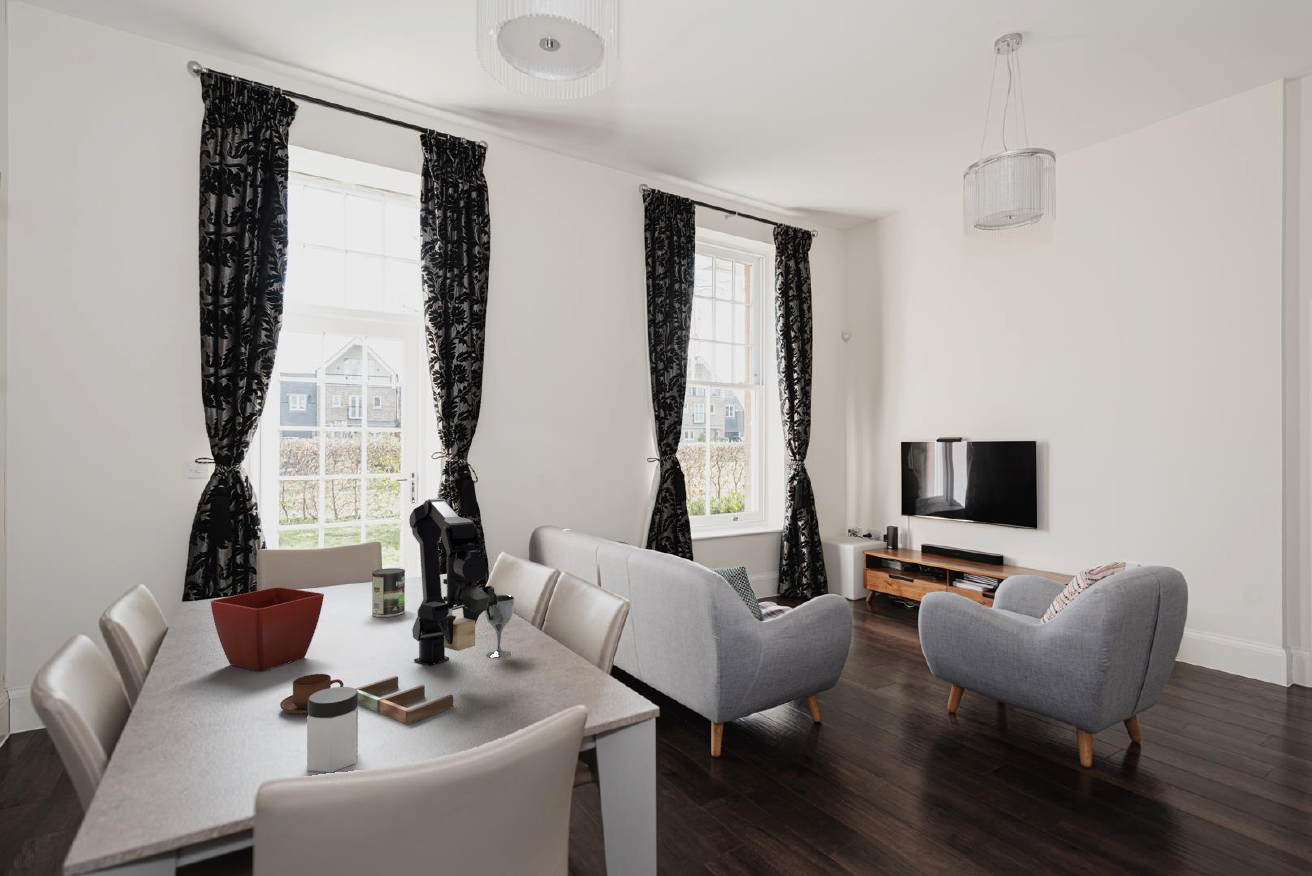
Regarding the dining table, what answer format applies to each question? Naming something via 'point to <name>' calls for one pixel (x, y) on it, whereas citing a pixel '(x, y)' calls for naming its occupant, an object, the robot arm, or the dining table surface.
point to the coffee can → (388, 592)
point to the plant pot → (267, 626)
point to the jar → (332, 729)
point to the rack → (400, 701)
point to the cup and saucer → (306, 692)
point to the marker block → (462, 634)
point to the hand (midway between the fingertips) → (459, 641)
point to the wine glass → (500, 621)
